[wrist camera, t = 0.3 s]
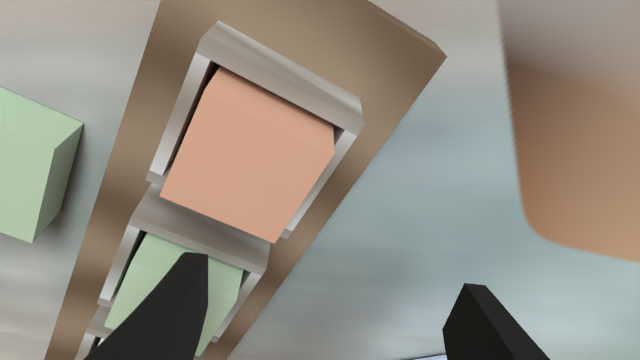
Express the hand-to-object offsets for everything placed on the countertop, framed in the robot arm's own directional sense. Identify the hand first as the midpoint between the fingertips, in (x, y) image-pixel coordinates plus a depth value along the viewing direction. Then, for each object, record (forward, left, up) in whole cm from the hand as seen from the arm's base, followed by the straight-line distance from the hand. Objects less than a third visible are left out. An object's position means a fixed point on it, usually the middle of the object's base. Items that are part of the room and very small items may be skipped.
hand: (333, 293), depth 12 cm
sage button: (-3, +8, -6) cm, 11 cm away
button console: (-3, +8, -10) cm, 13 cm away
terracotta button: (+2, +2, -6) cm, 7 cm away
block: (+4, +15, -10) cm, 18 cm away
